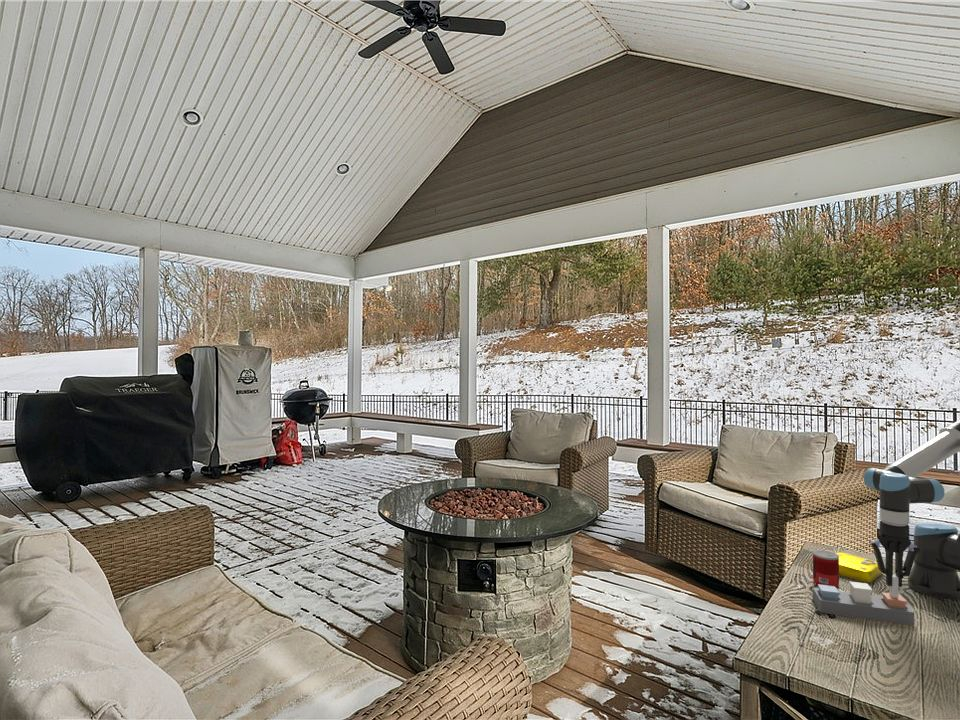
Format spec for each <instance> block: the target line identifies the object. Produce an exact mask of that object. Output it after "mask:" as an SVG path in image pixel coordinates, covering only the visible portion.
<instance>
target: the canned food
mask: <svg viewBox="0 0 960 720" xmlns="http://www.w3.org/2000/svg"><path fill="white" fill-rule="evenodd" d="M812 580H813V584H815V585H817V586H818V584H820V585H828V586H835V587H836V588H837V589H838V587H839V586H840V575H839V556H838V555H837V554H836V553H835V552H831V551H828V550H827V551H826V550H814V551H813V552H812Z"/></svg>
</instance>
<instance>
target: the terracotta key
mask: <svg viewBox="0 0 960 720" xmlns="http://www.w3.org/2000/svg"><path fill="white" fill-rule="evenodd" d="M881 596H883V602H884V603H885V604H886V606H889V607H897V608H905V609H906V604H908V601H907V600H906V599H905V598H904V597H903V595H902V594H900V593H898V598H893V597H892V596H891V595H890V594H889V592H883V591H881Z"/></svg>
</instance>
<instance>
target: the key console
mask: <svg viewBox="0 0 960 720" xmlns="http://www.w3.org/2000/svg"><path fill="white" fill-rule="evenodd" d="M838 591H839V593H840V595H839V600H835V599H828V598H821V597H820V595H819V588H818V587H812V601H813V602H814V604H815V606H816V608H817V609H818V611H819V613H821V614H827V615H835V616H842V617H843V616H844V617H850V618H856V619H865V620H871V621H880V622H885V623H886V622H887V623H893V624H902V625H907V626H915V612H914V611H913V609H912V608H910V607H909V605H907V604H908V603H907V604H906V609H905V608H897V607H889V606H886V604H885V603H884V602H883V595H876V594H871V604H866V603H859V602H854V601H853V600H852V598H851V597H850V591H844V590H843V591H842V590H838Z"/></svg>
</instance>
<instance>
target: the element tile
mask: <svg viewBox="0 0 960 720" xmlns="http://www.w3.org/2000/svg"><path fill="white" fill-rule="evenodd" d="M835 554H837V555H838V556H839V576H842V577H846V578H850V579H853V580H856V581H860V582H862V583H872V582H874V581H875V580H876V579H877V578H879V577H881V576H882V575H883V573H882V572H881V571H880V570H879V568H878V564H877V561H876V560H872V559H869V558H866V557H865V558H864V557H862V556H858V555H854V554H849V553H846V552H840V551H839V552H836V553H835Z"/></svg>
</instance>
